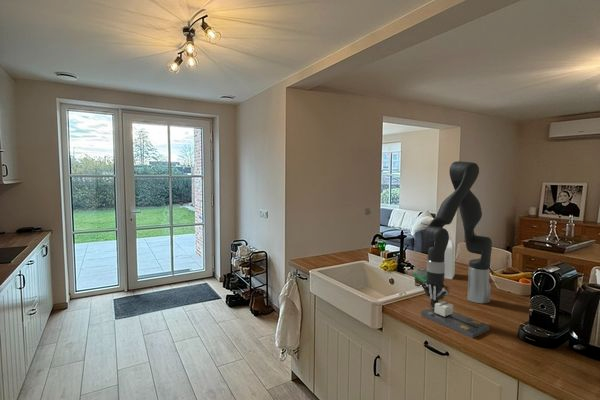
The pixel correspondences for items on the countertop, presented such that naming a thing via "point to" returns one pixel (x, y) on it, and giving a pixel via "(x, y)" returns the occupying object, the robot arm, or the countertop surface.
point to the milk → (449, 260)
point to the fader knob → (443, 308)
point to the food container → (420, 276)
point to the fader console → (457, 322)
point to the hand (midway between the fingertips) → (434, 307)
